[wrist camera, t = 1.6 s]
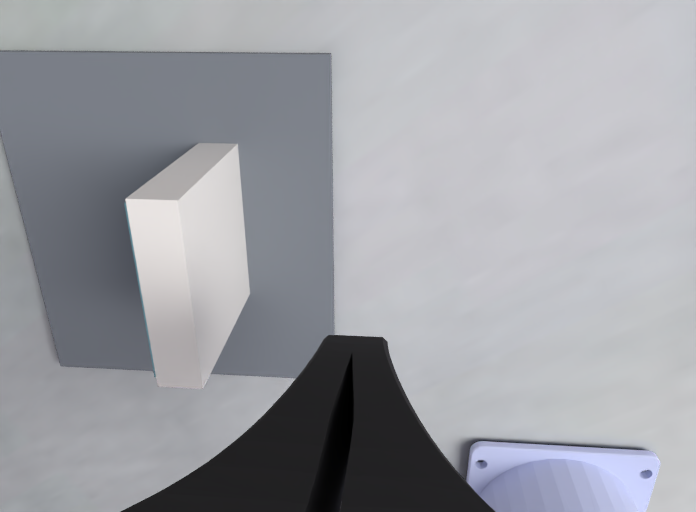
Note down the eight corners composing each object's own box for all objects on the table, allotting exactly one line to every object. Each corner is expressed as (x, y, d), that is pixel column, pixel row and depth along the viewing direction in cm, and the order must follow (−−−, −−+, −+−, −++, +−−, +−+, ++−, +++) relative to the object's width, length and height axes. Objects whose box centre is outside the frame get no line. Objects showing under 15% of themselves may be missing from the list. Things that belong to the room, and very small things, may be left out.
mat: (334, 374, 24) (333, 380, 24) (65, 360, 25) (60, 366, 25) (331, 53, 19) (329, 54, 19) (-13, 50, 20) (-21, 51, 19)
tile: (249, 293, 23) (202, 389, 17) (211, 291, 23) (152, 386, 17) (237, 143, 20) (177, 200, 15) (194, 142, 20) (119, 198, 15)
